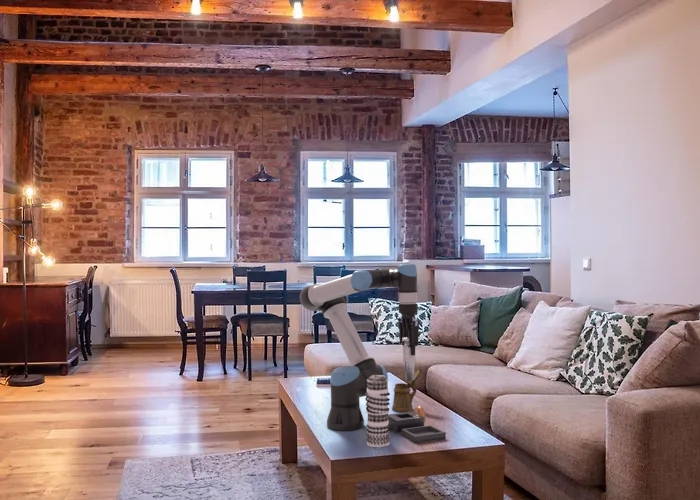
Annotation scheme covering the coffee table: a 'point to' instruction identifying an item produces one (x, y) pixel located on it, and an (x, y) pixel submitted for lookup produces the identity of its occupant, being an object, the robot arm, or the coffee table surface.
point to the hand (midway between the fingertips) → (409, 362)
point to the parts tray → (423, 434)
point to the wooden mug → (404, 395)
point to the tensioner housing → (406, 420)
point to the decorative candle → (377, 411)
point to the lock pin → (408, 367)
